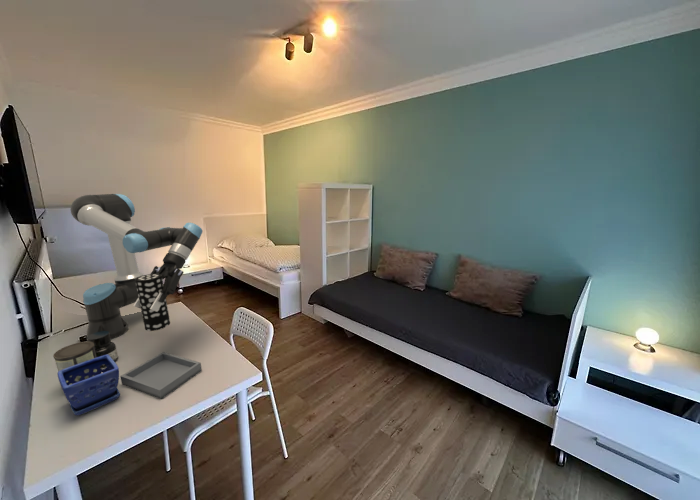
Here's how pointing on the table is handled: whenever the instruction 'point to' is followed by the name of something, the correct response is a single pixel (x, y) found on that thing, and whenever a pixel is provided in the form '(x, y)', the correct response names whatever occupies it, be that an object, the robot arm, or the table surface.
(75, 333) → the table surface
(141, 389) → the tray
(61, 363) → the coffee can
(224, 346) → the table surface
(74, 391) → the flower pot
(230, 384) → the table surface
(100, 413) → the table surface
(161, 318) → the white-spotted black cylinder
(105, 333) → the ink bottle
